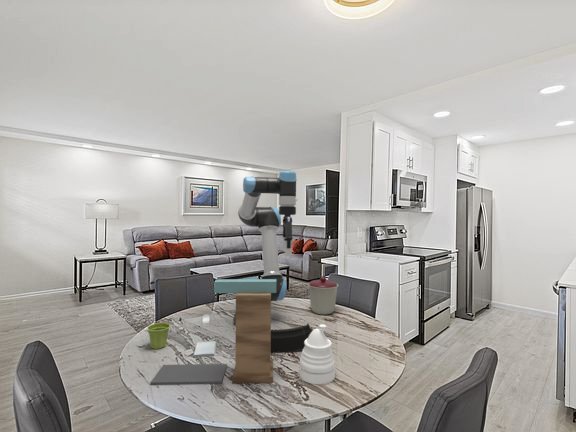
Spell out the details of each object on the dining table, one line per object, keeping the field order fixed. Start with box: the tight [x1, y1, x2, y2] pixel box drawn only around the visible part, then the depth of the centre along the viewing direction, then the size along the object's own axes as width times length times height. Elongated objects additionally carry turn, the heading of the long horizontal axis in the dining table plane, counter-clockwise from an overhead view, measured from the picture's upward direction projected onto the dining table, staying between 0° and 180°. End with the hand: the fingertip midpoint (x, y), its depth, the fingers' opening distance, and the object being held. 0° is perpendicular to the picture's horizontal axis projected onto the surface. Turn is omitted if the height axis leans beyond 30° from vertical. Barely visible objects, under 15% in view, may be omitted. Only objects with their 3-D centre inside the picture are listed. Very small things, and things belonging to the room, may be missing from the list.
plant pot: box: [146, 322, 171, 350], centre depth 132 cm, size 9×9×9 cm
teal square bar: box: [213, 278, 276, 294], centre depth 110 cm, size 4×22×4 cm, turn 92°
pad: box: [149, 363, 228, 386], centre depth 109 cm, size 12×24×1 cm, turn 92°
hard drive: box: [192, 340, 217, 358], centre depth 129 cm, size 2×8×12 cm
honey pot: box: [299, 324, 336, 386], centre depth 110 cm, size 13×13×18 cm
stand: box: [231, 293, 274, 384], centre depth 110 cm, size 12×14×30 cm
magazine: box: [271, 323, 314, 354], centre depth 128 cm, size 17×3×30 cm
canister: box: [307, 275, 340, 316], centre depth 179 cm, size 18×18×21 cm
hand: (287, 253), depth 135 cm, fingers open, 13 cm apart
